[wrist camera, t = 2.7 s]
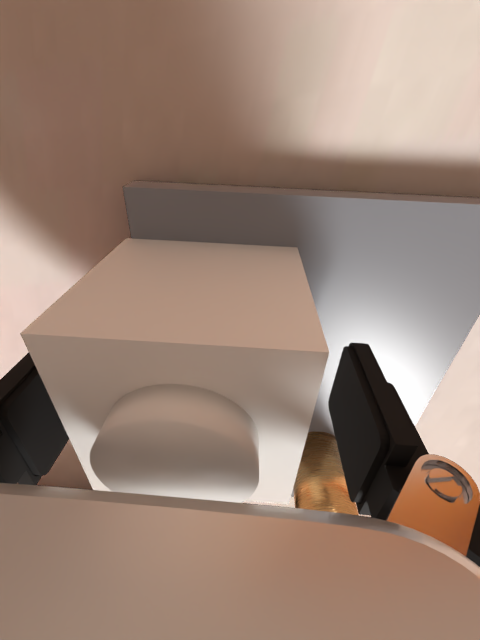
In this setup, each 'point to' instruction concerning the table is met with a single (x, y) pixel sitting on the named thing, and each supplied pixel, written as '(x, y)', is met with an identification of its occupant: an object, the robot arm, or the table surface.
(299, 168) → the table surface
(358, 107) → the table surface
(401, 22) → the table surface
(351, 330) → the plate
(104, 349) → the white push button box
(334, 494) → the brass cylinder
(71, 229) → the table surface
